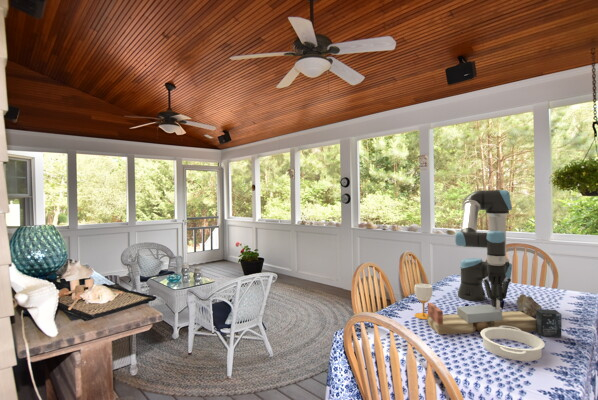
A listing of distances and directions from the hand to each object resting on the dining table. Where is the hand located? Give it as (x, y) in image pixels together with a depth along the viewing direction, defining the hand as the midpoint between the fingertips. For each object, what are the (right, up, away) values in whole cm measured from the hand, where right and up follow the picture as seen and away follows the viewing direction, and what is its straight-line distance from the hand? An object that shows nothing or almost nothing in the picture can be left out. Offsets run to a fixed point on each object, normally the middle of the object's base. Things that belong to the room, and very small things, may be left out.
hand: (496, 313), depth 161 cm
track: (-8, -7, 0) cm, 10 cm away
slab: (-9, -2, 0) cm, 9 cm away
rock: (+25, -6, +15) cm, 30 cm away
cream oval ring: (-7, -8, -22) cm, 24 cm away
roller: (-10, -7, 0) cm, 12 cm away
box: (+18, -7, -9) cm, 21 cm away
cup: (-29, -7, +15) cm, 34 cm away
